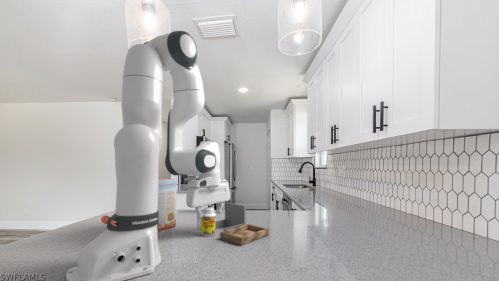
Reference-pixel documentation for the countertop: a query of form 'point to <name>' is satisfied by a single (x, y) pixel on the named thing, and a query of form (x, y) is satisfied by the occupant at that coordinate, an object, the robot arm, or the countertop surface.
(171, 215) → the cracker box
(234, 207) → the dock
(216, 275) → the countertop surface
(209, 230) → the supplement bottle
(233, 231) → the tray
